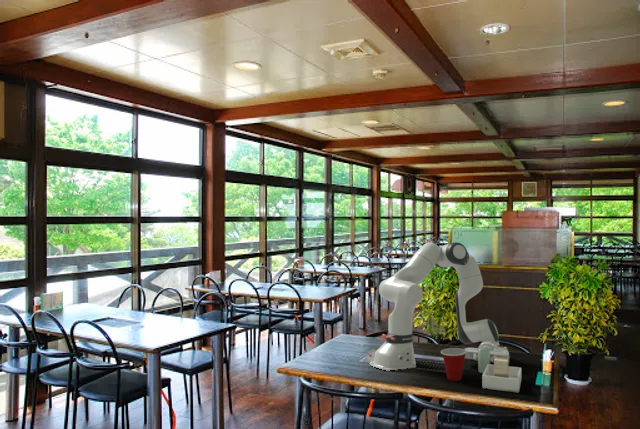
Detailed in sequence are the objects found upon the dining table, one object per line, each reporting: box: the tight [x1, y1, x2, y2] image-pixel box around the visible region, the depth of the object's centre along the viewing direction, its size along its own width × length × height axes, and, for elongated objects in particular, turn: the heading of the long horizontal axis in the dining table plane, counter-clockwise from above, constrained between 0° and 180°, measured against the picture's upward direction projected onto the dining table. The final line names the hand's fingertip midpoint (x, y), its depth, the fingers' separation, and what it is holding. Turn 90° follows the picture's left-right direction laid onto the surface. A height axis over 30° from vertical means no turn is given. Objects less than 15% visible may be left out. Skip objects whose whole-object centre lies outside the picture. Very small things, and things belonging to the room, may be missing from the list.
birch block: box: [493, 357, 510, 378], centre depth 203 cm, size 5×5×10 cm
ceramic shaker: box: [477, 347, 491, 374], centre depth 223 cm, size 5×5×10 cm
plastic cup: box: [440, 347, 467, 382], centre depth 213 cm, size 11×11×12 cm
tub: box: [481, 363, 523, 394], centre depth 206 cm, size 18×14×5 cm
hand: (483, 359), depth 222 cm, fingers closed on ceramic shaker, 5 cm apart
